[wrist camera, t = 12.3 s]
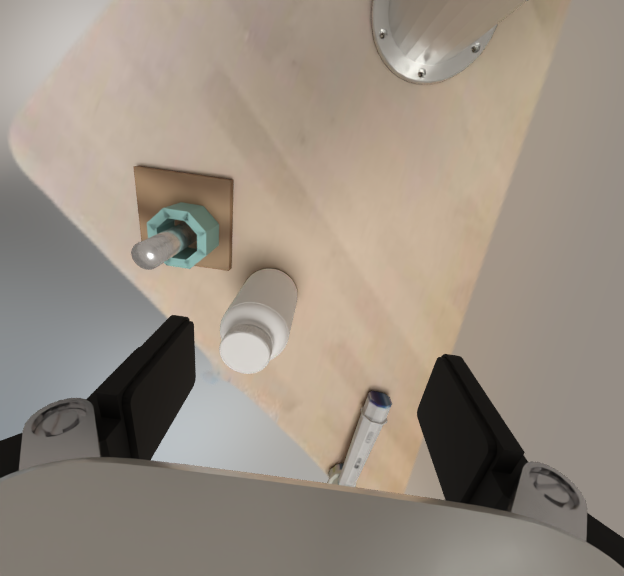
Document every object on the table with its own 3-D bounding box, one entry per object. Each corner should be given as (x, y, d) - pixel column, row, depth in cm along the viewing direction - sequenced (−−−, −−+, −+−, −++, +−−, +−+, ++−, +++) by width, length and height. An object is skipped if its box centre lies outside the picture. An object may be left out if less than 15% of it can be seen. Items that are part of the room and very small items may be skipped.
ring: (165, 199, 38) (145, 205, 34) (219, 208, 38) (206, 214, 34) (167, 251, 41) (149, 262, 37) (218, 259, 41) (206, 271, 37)
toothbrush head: (398, 410, 47) (352, 521, 54) (389, 385, 54) (348, 487, 60) (367, 402, 47) (324, 515, 54) (361, 378, 53) (323, 482, 60)
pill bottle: (233, 285, 44) (190, 344, 30) (276, 256, 42) (251, 306, 28) (266, 324, 46) (240, 395, 32) (308, 299, 44) (300, 364, 30)
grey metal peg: (181, 218, 39) (129, 240, 29) (202, 221, 39) (158, 244, 29) (182, 239, 40) (133, 267, 30) (202, 242, 40) (160, 271, 30)
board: (139, 166, 37) (133, 166, 36) (233, 179, 38) (230, 180, 36) (148, 255, 42) (143, 258, 41) (231, 267, 42) (228, 270, 41)
